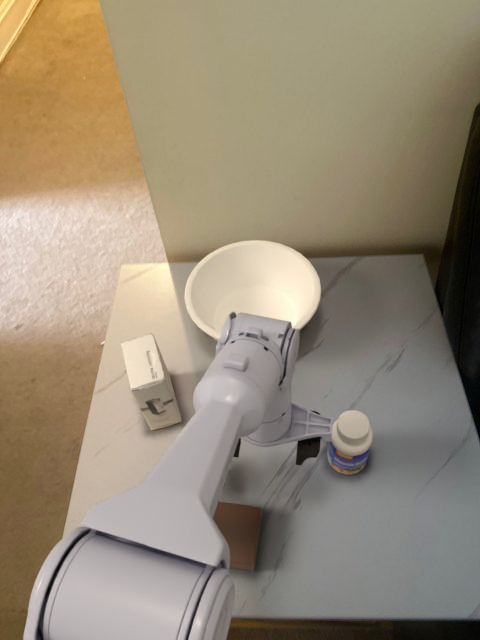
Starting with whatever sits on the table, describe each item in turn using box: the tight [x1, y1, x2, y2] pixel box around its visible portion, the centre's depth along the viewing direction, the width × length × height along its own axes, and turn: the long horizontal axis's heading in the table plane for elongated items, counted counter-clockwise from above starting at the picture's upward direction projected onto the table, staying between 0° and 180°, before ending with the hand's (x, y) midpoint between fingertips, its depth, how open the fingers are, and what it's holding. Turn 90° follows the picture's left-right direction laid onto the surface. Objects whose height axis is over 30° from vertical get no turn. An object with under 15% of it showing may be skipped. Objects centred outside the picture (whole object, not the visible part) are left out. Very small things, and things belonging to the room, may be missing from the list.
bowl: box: [184, 239, 322, 342], centre depth 90 cm, size 21×21×8 cm
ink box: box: [120, 332, 183, 431], centre depth 80 cm, size 9×5×12 cm, turn 17°
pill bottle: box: [326, 409, 374, 475], centre depth 74 cm, size 5×5×10 cm
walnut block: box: [213, 501, 263, 572], centre depth 71 cm, size 7×7×3 cm
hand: (267, 453), depth 69 cm, fingers open, 7 cm apart
